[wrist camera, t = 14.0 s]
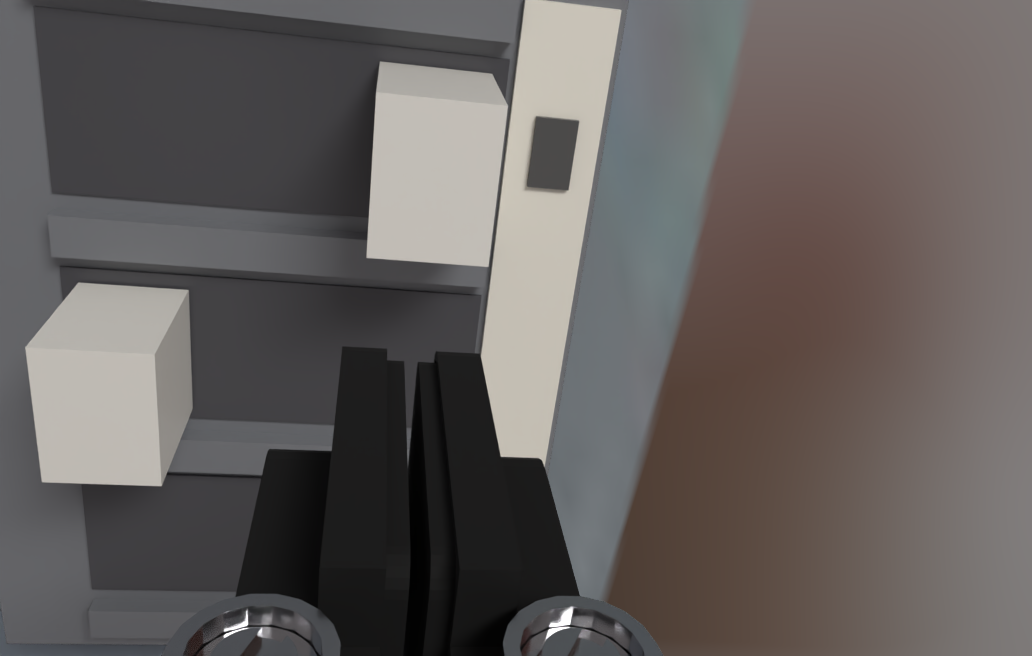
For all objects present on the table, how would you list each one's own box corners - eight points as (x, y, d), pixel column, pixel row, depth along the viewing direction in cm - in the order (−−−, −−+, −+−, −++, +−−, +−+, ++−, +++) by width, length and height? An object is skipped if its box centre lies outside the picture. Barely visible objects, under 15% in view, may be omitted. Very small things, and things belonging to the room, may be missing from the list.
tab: (476, 214, 26) (488, 266, 22) (371, 205, 25) (366, 257, 22) (492, 73, 24) (507, 105, 20) (379, 61, 23) (376, 92, 20)
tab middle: (192, 408, 27) (161, 486, 24) (89, 403, 27) (41, 482, 23) (188, 289, 26) (154, 354, 22) (78, 282, 25) (25, 347, 22)
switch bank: (509, 591, 36) (520, 659, 33) (38, 583, 33) (-1, 657, 30) (609, -38, 26) (639, -28, 23) (-57, -126, 23) (-130, -129, 20)
